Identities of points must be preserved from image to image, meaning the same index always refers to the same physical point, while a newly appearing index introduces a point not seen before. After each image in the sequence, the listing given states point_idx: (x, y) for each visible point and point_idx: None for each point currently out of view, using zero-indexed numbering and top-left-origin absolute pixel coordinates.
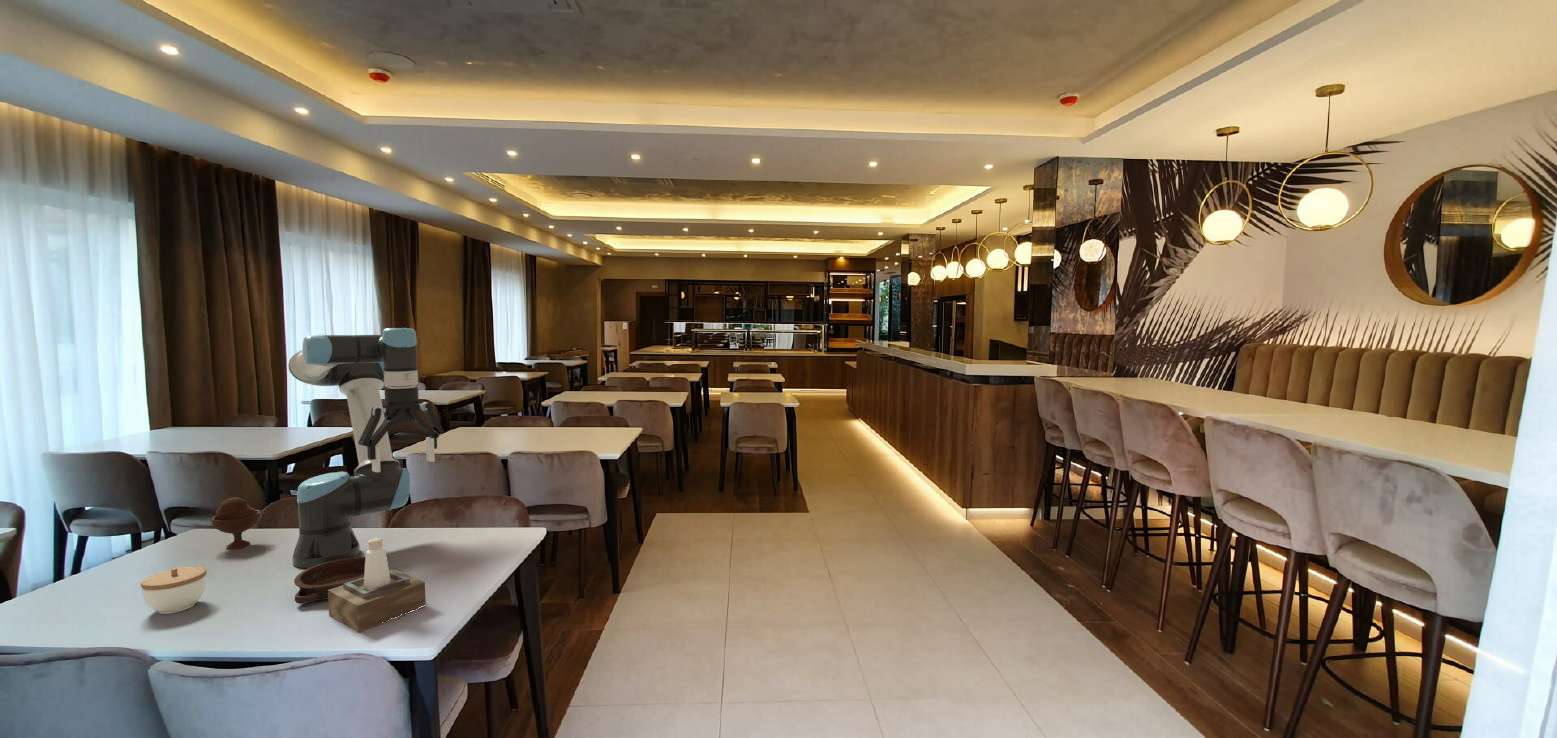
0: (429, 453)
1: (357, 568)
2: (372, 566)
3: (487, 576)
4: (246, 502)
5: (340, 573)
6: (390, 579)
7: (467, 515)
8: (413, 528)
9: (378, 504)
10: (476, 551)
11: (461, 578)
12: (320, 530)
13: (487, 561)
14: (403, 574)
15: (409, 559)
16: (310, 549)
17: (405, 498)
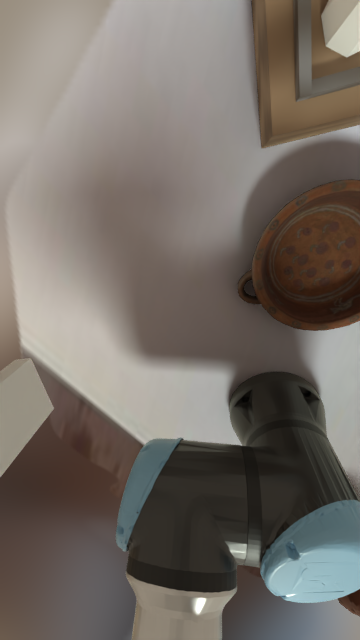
0: (3, 416)
1: (277, 296)
2: None
3: (95, 82)
4: (353, 601)
5: (300, 305)
6: (324, 11)
7: (59, 434)
8: (139, 437)
9: (206, 446)
10: (82, 257)
11: (141, 119)
12: (312, 428)
13: (76, 182)
14: (274, 62)
15: (185, 308)
16: (315, 407)
17: (150, 443)
